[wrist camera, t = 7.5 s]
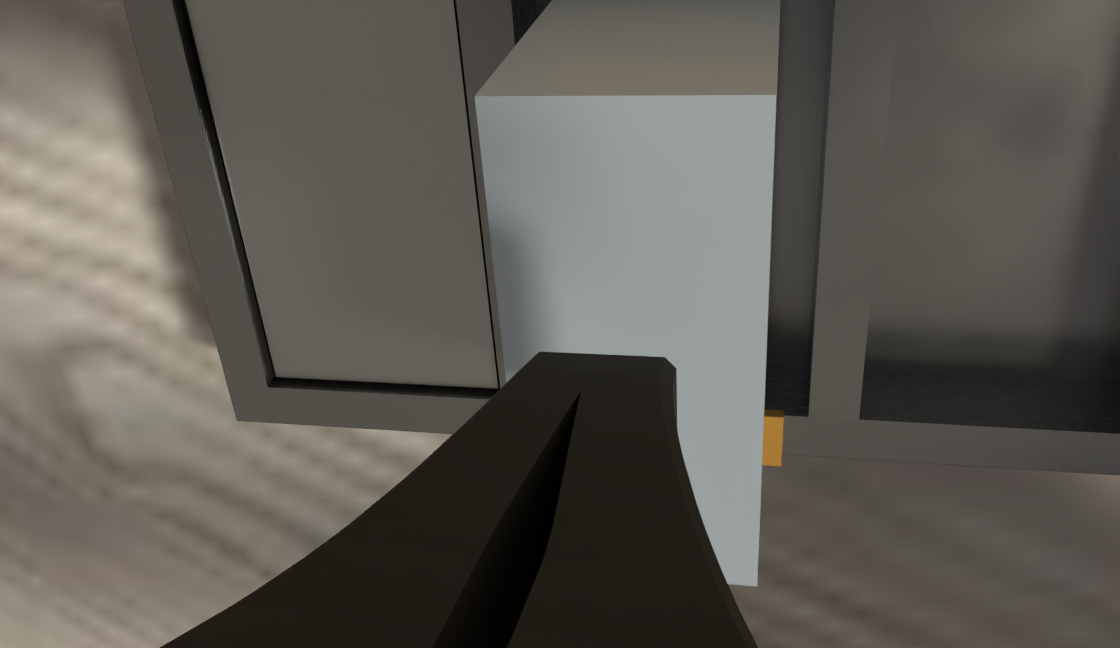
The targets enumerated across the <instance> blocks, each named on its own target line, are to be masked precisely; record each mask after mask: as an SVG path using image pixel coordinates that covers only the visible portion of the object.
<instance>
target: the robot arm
mask: <svg viewBox="0 0 1120 648" xmlns="http://www.w3.org/2000/svg"><path fill="white" fill-rule="evenodd" d="M160 648H758V647H757V645H756V643H755V641H754V639H753V637H752V635H751V633H750V631H749V629H748V627H747V625H746V623H745V621H744V619H743V617H742V615H741V613H740V610H739V608H738V606H737V604H736V602H735V600H734V597H733V595H732V593H731V591H730V588H729V586H728V584H727V581H726V579H725V577H724V574H723V572H722V570H721V567H720V565H719V562H718V560H717V557H716V555H715V552H714V550H713V547H712V545H711V542H710V539H709V537H708V534H707V532H706V529H705V526H704V523H703V521H702V518H701V515H700V512H699V509H698V506H697V503H696V500H695V496H694V493H693V490H692V486H691V483H690V479H689V476H688V472H687V469H686V466H685V462H684V459H683V454H682V450H681V446H680V442H679V437H678V431H677V373H676V368H675V367H674V366H673V365H672V364H671V363H670V362H669V361H668V360H667V359H666V358H665V357H652V356H629V355H607V354H584V353H561V352H539V353H537V354H536V355H535V356H534V357H533V358H532V359H531V360H530V361H529V362H528V363H526V364H525V365H524V366H523V367H522V368H521V369H520V370H519V371H518V372H517V373H516V374H515V375H514V376H513V377H512V378H511V379H510V380H509V381H508V382H507V383H506V384H505V385H504V386H503V387H502V388H501V389H500V390H498V391H497V392H496V393H495V394H494V395H493V396H492V397H491V398H490V399H489V400H488V401H487V402H486V403H485V404H484V405H483V406H482V407H481V408H480V409H479V410H478V411H477V412H476V413H475V414H474V415H473V416H472V417H471V418H470V419H469V420H468V421H467V422H466V423H465V424H464V425H463V426H462V427H460V428H459V429H458V430H457V431H456V432H455V433H454V434H453V435H452V436H451V437H450V438H449V439H447V440H446V441H445V442H444V443H443V444H442V445H441V446H440V447H439V448H438V449H437V450H436V451H434V452H433V453H432V454H431V455H430V456H429V457H428V458H427V459H426V460H425V461H424V462H423V463H421V464H420V465H419V466H418V467H417V468H416V469H415V470H414V471H413V472H411V473H410V474H409V475H408V476H407V477H406V478H405V479H403V480H402V481H401V482H400V483H399V484H397V485H396V486H395V487H394V488H393V489H391V490H390V491H389V492H388V493H387V494H385V495H384V496H383V497H382V498H381V499H379V500H378V501H377V502H376V503H375V504H373V505H372V506H371V507H370V508H368V509H367V510H366V511H365V512H364V513H362V514H361V515H360V516H359V517H358V518H356V519H355V520H354V521H353V522H352V523H350V524H349V525H348V526H346V527H345V528H344V529H342V530H341V531H340V532H339V533H337V534H336V535H335V536H333V537H332V538H331V539H329V540H328V541H327V542H325V543H324V544H322V545H321V546H320V547H318V548H317V549H316V550H314V551H313V552H311V553H310V554H309V555H307V556H306V557H305V558H303V559H302V560H300V561H299V562H297V563H296V564H294V565H293V566H291V567H290V568H288V569H287V570H285V571H284V572H282V573H281V574H279V575H278V576H277V577H275V578H274V579H272V580H271V581H269V582H268V583H266V584H265V585H263V586H262V587H260V588H259V589H257V590H256V591H254V592H253V593H251V594H250V595H248V596H247V597H245V598H243V599H242V600H240V601H239V602H237V603H236V604H234V605H232V606H231V607H229V608H227V609H225V610H224V611H222V612H220V613H219V614H217V615H215V616H213V617H212V618H210V619H208V620H207V621H205V622H203V623H201V624H200V625H198V626H196V627H195V628H193V629H191V630H189V631H188V632H186V633H184V634H183V635H181V636H179V637H177V638H176V639H174V640H172V641H171V642H169V643H167V644H165V645H164V646H162V647H160Z"/></svg>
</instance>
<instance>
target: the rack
mask: <svg viewBox="0 0 1120 648" xmlns="http://www.w3.org/2000/svg"><path fill="white" fill-rule="evenodd" d="M551 1H552V0H123V3H124V6H125V10H126V14H127V17H128V21H129V25H130V28H131V32H132V36H133V39H134V43H135V47H136V50H137V54H138V58H139V62H140V65H141V69H142V73H143V76H144V80H145V84H146V87H147V91H148V95H149V98H150V102H151V106H152V109H153V113H154V117H155V120H156V124H157V128H158V131H159V135H160V139H161V143H162V146H163V150H164V154H165V157H166V161H167V165H168V168H169V172H170V176H171V179H172V183H173V187H174V190H175V194H176V198H177V201H178V205H179V209H180V212H181V216H182V220H183V224H184V227H185V231H186V235H187V238H188V242H189V246H190V249H191V253H192V257H193V260H194V264H195V268H196V271H197V275H198V279H199V282H200V286H201V290H202V293H203V297H204V301H205V305H206V308H207V312H208V316H209V319H210V323H211V327H212V330H213V334H214V338H215V341H216V345H217V349H218V352H219V356H220V360H221V363H222V367H223V371H224V374H225V378H226V382H227V386H228V389H229V393H230V397H231V400H232V404H233V408H234V411H235V415H236V419H237V421H250V422H266V423H282V424H299V425H315V426H331V427H347V428H363V429H380V430H396V431H412V432H428V433H444V434H454V433H455V432H456V431H457V430H458V429H459V428H460V427H462V426H463V425H464V424H465V423H466V422H467V421H468V420H469V419H470V418H471V417H472V416H473V415H474V414H475V413H476V412H477V411H478V410H479V409H480V408H481V407H482V406H483V405H484V404H485V403H486V402H487V401H488V400H489V399H490V398H491V397H492V396H493V395H494V394H495V393H496V392H497V391H498V390H500V389H501V388H502V387H503V386H504V385H505V384H506V376H505V367H504V358H503V349H502V340H501V330H500V321H499V312H498V303H497V294H496V285H495V276H494V267H493V258H492V249H491V240H490V231H489V222H488V213H487V204H486V195H485V186H484V177H483V168H482V159H481V150H480V141H479V132H478V123H477V114H476V105H475V95H476V94H477V93H478V91H479V90H480V89H481V88H482V86H483V85H484V84H485V83H486V82H487V80H488V79H489V78H490V77H491V75H492V74H493V73H494V72H495V70H496V69H497V68H498V67H499V65H500V64H501V63H502V62H503V60H504V59H505V58H506V57H507V55H508V54H509V53H510V52H511V50H512V49H513V48H514V47H515V46H516V44H517V43H518V42H519V41H520V39H521V38H522V37H523V36H524V34H525V33H526V32H527V31H528V29H529V28H530V27H531V26H532V24H533V23H534V22H535V21H536V19H537V18H538V17H539V16H540V15H541V13H542V12H543V11H544V10H545V8H546V7H547V6H548V5H549V3H550V2H551ZM782 454H784V455H801V456H817V457H833V458H849V459H865V460H882V461H898V462H914V463H930V464H946V465H962V466H979V467H995V468H1011V469H1027V470H1043V471H1060V472H1076V473H1092V474H1108V475H1120V0H780V24H779V50H778V76H777V102H776V128H775V153H774V179H773V205H772V231H771V257H770V283H769V309H768V335H767V360H766V384H765V409H764V434H763V458H762V465H768V466H781V462H782Z"/></svg>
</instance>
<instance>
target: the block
mask: <svg viewBox="0 0 1120 648" xmlns="http://www.w3.org/2000/svg"><path fill="white" fill-rule="evenodd" d="M779 24H780V0H552V1H551V2H550V3H549V5H548V6H547V7H546V8H545V10H544V11H543V12H542V13H541V15H540V16H539V17H538V18H537V19H536V21H535V22H534V23H533V24H532V26H531V27H530V28H529V29H528V31H527V32H526V33H525V34H524V36H523V37H522V38H521V39H520V41H519V42H518V43H517V44H516V46H515V47H514V48H513V49H512V50H511V52H510V53H509V54H508V55H507V57H506V58H505V59H504V60H503V62H502V63H501V64H500V65H499V67H498V68H497V69H496V70H495V72H494V73H493V74H492V75H491V77H490V78H489V79H488V80H487V82H486V83H485V84H484V85H483V86H482V88H481V89H480V90H479V91H478V93H477V94H476V95H475V105H476V114H477V123H478V132H479V141H480V150H481V159H482V168H483V177H484V186H485V195H486V204H487V213H488V222H489V231H490V240H491V249H492V258H493V267H494V276H495V285H496V294H497V303H498V312H499V321H500V330H501V340H502V349H503V358H504V367H505V376H506V383H507V382H508V381H509V380H510V379H511V378H512V377H513V376H514V375H515V374H516V373H517V372H518V371H519V370H520V369H521V368H522V367H523V366H524V365H525V364H526V363H528V362H529V361H530V360H531V359H532V358H533V357H534V356H535V355H536V354H537V353H539V352H561V353H584V354H607V355H629V356H652V357H665V358H666V359H667V360H668V361H669V362H670V363H671V364H672V365H673V366H674V367H675V368H676V373H677V431H678V437H679V442H680V446H681V450H682V454H683V459H684V462H685V466H686V469H687V472H688V476H689V479H690V483H691V486H692V490H693V493H694V496H695V500H696V503H697V506H698V509H699V512H700V515H701V518H702V521H703V523H704V526H705V529H706V532H707V534H708V537H709V539H710V542H711V545H712V547H713V550H714V552H715V555H716V557H717V560H718V562H719V565H720V567H721V570H722V572H723V574H724V577H725V579H726V581H727V584H733V585H744V586H756V587H757V582H758V557H759V532H760V508H761V483H762V458H763V434H764V409H765V384H766V360H767V335H768V309H769V283H770V257H771V231H772V205H773V179H774V153H775V128H776V102H777V76H778V50H779Z"/></svg>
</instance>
